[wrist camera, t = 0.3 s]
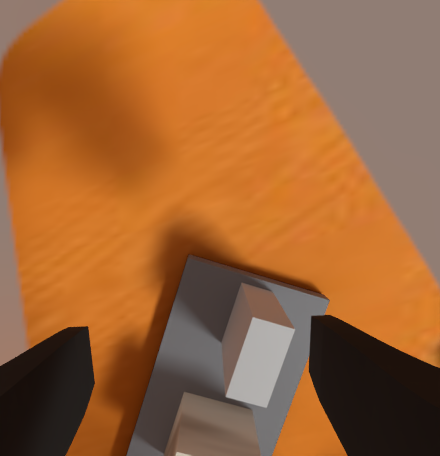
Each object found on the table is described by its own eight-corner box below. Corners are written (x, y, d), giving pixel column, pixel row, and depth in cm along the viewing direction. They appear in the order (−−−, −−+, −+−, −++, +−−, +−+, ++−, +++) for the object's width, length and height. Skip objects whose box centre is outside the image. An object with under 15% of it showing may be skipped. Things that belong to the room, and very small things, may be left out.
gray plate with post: (237, 528, 22) (247, 652, 17) (112, 499, 22) (76, 617, 16) (323, 294, 20) (371, 340, 14) (188, 254, 20) (179, 284, 14)
